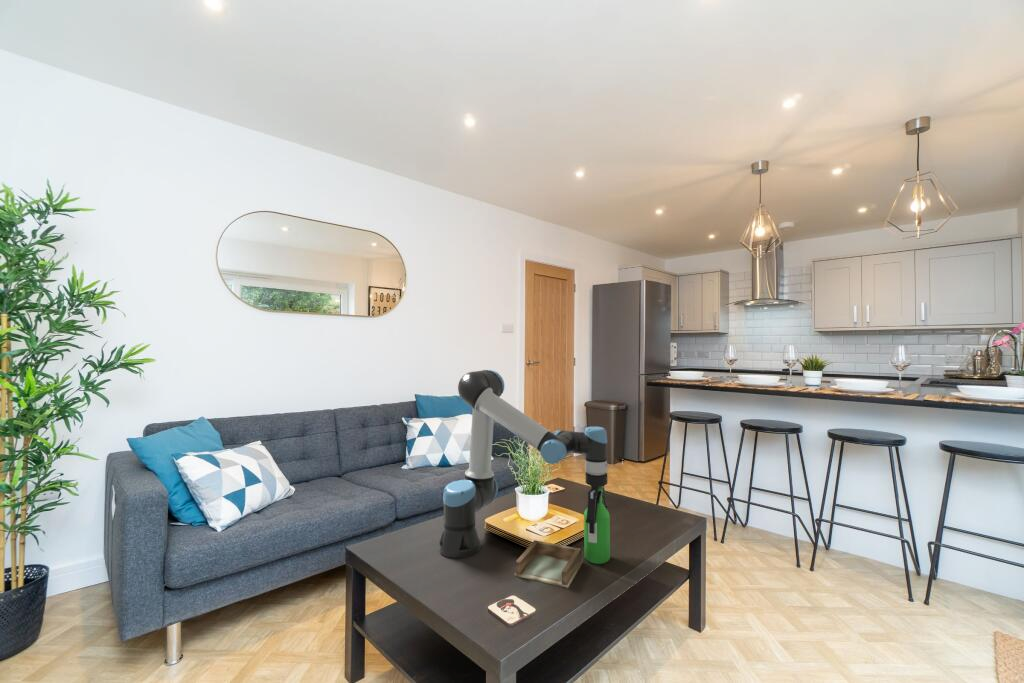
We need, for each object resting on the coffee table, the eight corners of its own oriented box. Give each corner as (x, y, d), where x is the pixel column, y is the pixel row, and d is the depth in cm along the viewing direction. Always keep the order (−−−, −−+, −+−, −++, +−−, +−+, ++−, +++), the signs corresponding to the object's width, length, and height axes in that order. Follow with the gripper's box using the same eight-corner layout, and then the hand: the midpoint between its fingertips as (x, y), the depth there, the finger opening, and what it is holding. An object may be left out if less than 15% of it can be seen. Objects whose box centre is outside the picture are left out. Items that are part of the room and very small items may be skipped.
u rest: (514, 575, 143) (514, 561, 143) (533, 552, 158) (533, 539, 158) (568, 587, 135) (567, 572, 135) (582, 562, 151) (582, 549, 151)
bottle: (610, 566, 148) (609, 491, 148) (584, 564, 150) (583, 490, 150) (609, 554, 157) (609, 483, 157) (585, 552, 158) (584, 482, 159)
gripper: (599, 483, 141) (599, 551, 141) (614, 464, 163) (614, 523, 163) (576, 480, 144) (576, 547, 144) (594, 462, 166) (594, 520, 166)
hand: (597, 534), depth 153 cm, fingers open, 12 cm apart
